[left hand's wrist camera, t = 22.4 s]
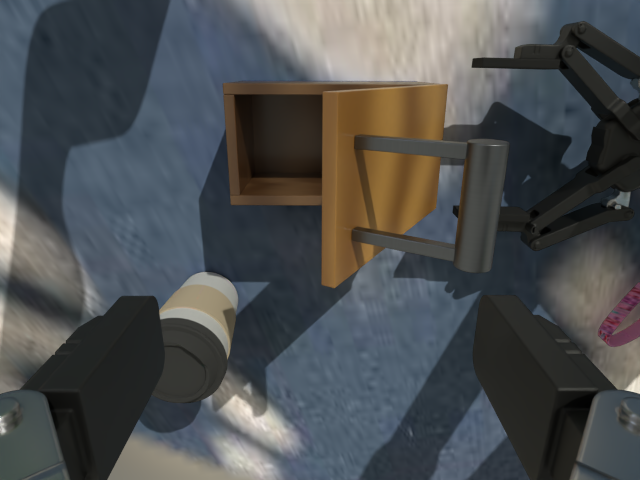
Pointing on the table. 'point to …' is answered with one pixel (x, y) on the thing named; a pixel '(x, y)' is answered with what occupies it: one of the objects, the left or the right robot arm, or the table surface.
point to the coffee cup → (196, 338)
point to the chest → (280, 138)
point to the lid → (401, 179)
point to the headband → (616, 318)
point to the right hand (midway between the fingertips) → (465, 142)
